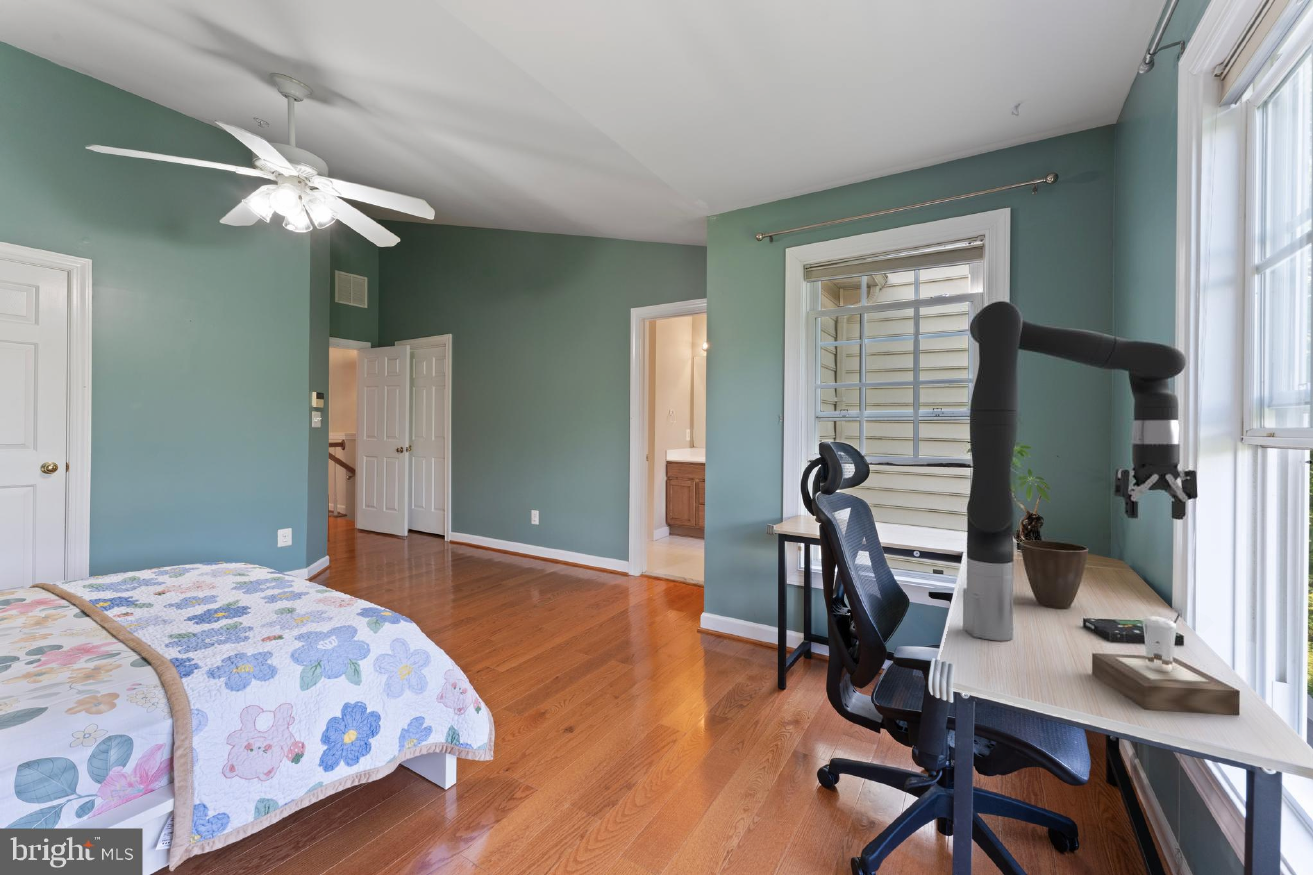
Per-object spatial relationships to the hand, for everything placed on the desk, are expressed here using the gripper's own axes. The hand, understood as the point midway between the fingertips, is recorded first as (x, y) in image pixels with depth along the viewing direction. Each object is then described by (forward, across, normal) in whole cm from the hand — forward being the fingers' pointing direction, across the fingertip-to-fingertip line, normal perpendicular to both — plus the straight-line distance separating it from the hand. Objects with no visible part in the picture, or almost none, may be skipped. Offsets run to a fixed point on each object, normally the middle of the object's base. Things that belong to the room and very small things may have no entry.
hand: (1154, 518), depth 119 cm
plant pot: (+28, -3, +32) cm, 43 cm away
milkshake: (+24, -13, -21) cm, 34 cm away
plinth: (+28, -13, -21) cm, 37 cm away
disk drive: (+29, +2, +10) cm, 30 cm away
